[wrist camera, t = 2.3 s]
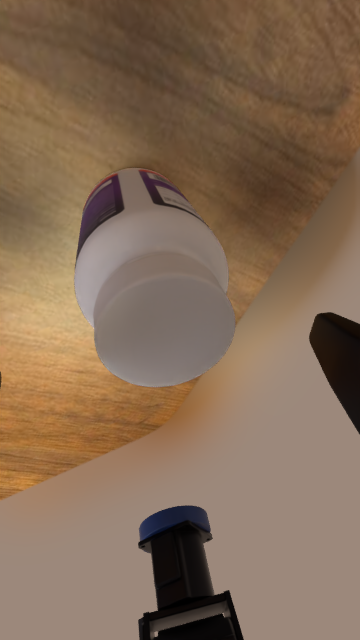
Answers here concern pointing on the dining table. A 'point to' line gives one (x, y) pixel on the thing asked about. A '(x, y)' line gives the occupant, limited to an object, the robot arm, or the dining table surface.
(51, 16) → the dining table surface
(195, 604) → the robot arm
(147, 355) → the pill bottle
